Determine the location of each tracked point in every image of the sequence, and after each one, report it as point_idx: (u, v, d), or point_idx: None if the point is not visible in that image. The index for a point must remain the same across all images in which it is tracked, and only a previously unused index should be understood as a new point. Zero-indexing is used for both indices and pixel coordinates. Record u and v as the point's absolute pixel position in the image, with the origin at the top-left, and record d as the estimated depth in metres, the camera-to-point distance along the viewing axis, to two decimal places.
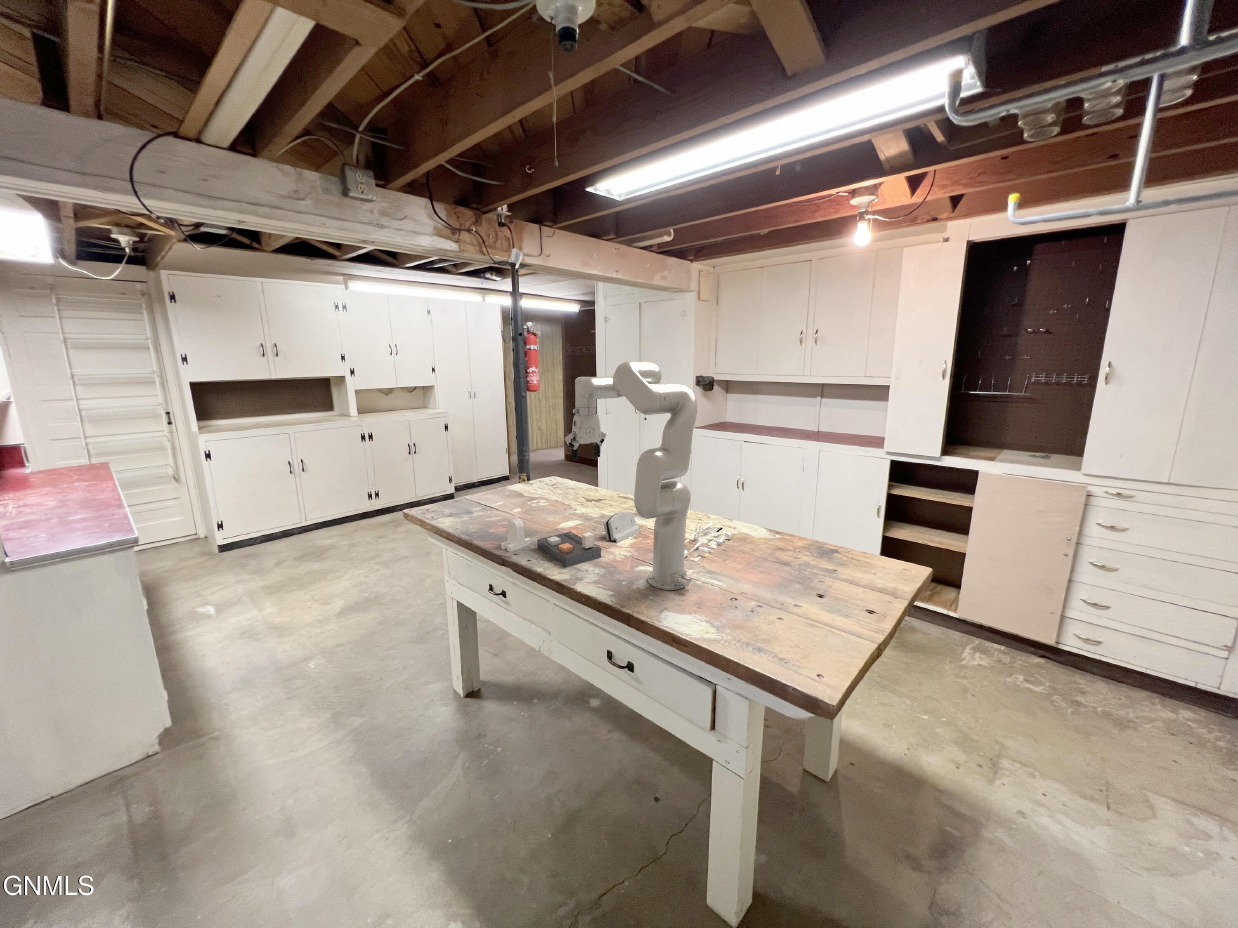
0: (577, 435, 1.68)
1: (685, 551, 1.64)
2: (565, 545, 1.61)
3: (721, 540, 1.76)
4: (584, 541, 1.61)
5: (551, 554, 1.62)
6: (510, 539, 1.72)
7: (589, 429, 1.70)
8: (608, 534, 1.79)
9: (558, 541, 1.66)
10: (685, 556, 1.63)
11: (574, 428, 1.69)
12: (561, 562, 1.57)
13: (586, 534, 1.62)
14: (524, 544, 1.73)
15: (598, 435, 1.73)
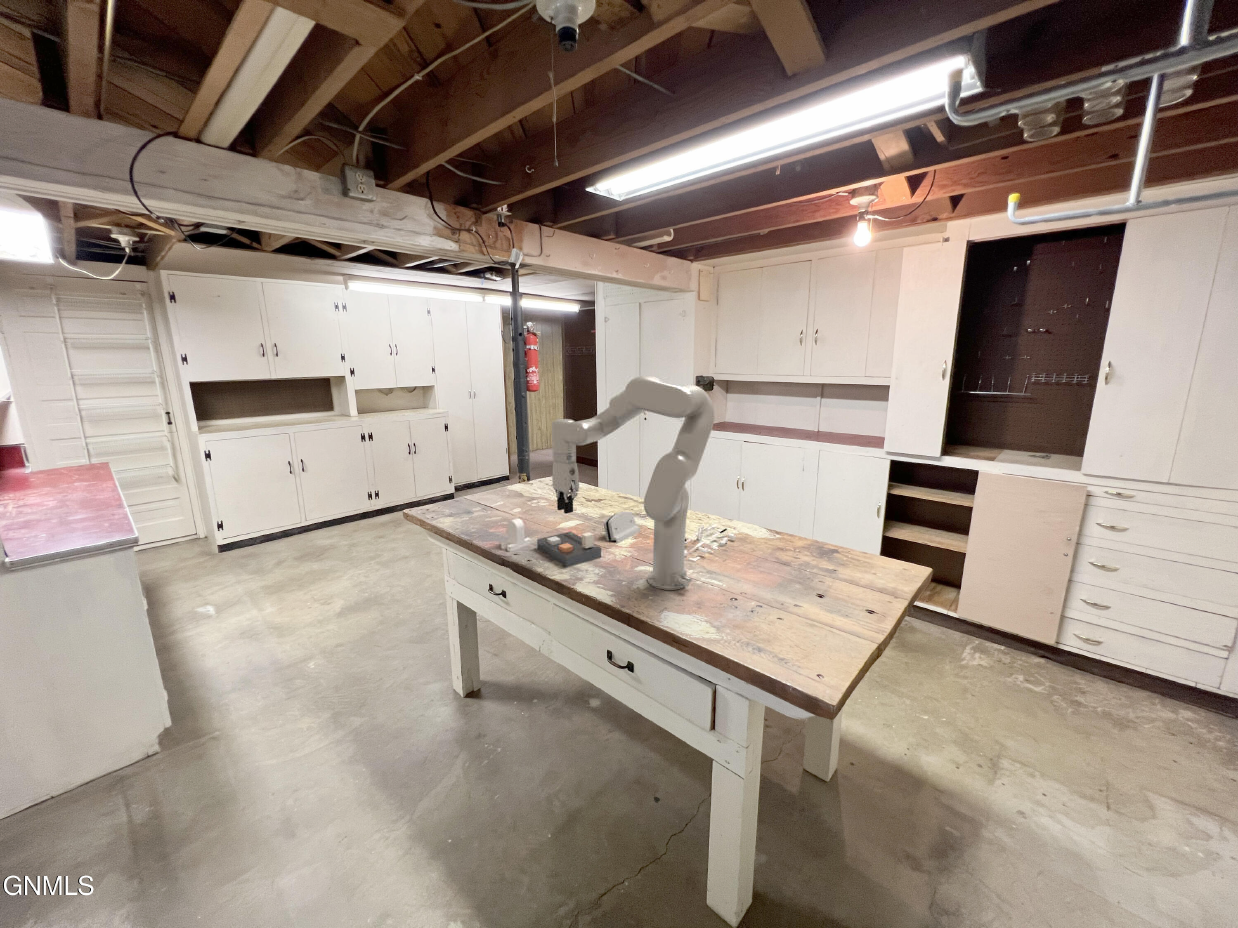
0: (578, 483, 1.53)
1: None
2: (565, 545, 1.61)
3: (723, 541, 1.75)
4: (584, 541, 1.61)
5: (551, 554, 1.62)
6: (510, 539, 1.72)
7: None
8: (608, 534, 1.78)
9: (558, 541, 1.66)
10: (684, 556, 1.64)
11: (572, 477, 1.52)
12: (561, 562, 1.57)
13: (586, 534, 1.62)
14: (524, 544, 1.73)
15: None
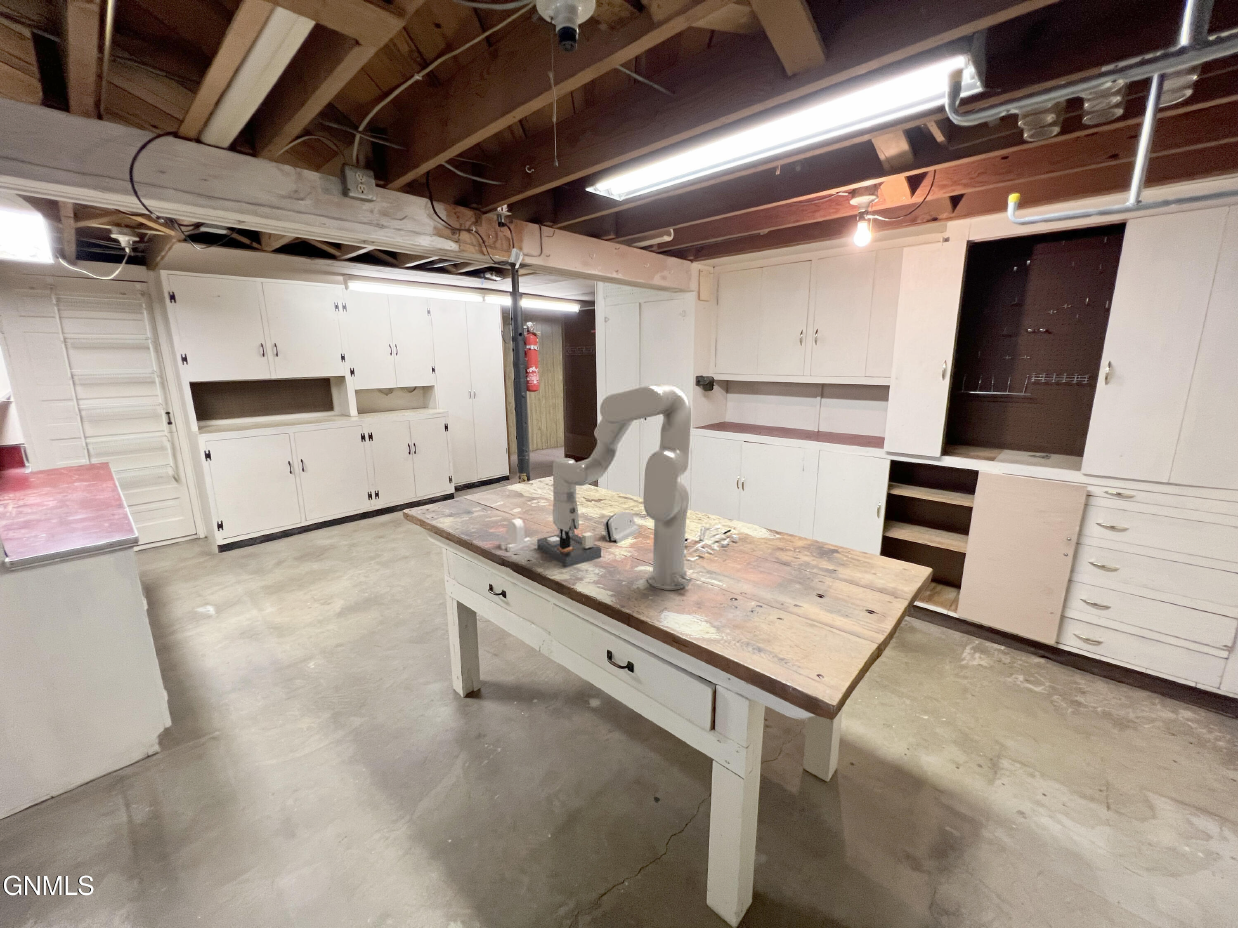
0: (577, 521, 1.56)
1: None
2: None
3: (725, 542, 1.74)
4: (584, 541, 1.61)
5: (551, 554, 1.62)
6: (510, 539, 1.72)
7: None
8: (608, 534, 1.78)
9: (558, 541, 1.66)
10: None
11: (572, 515, 1.55)
12: (561, 562, 1.57)
13: (586, 534, 1.62)
14: (524, 544, 1.73)
15: None
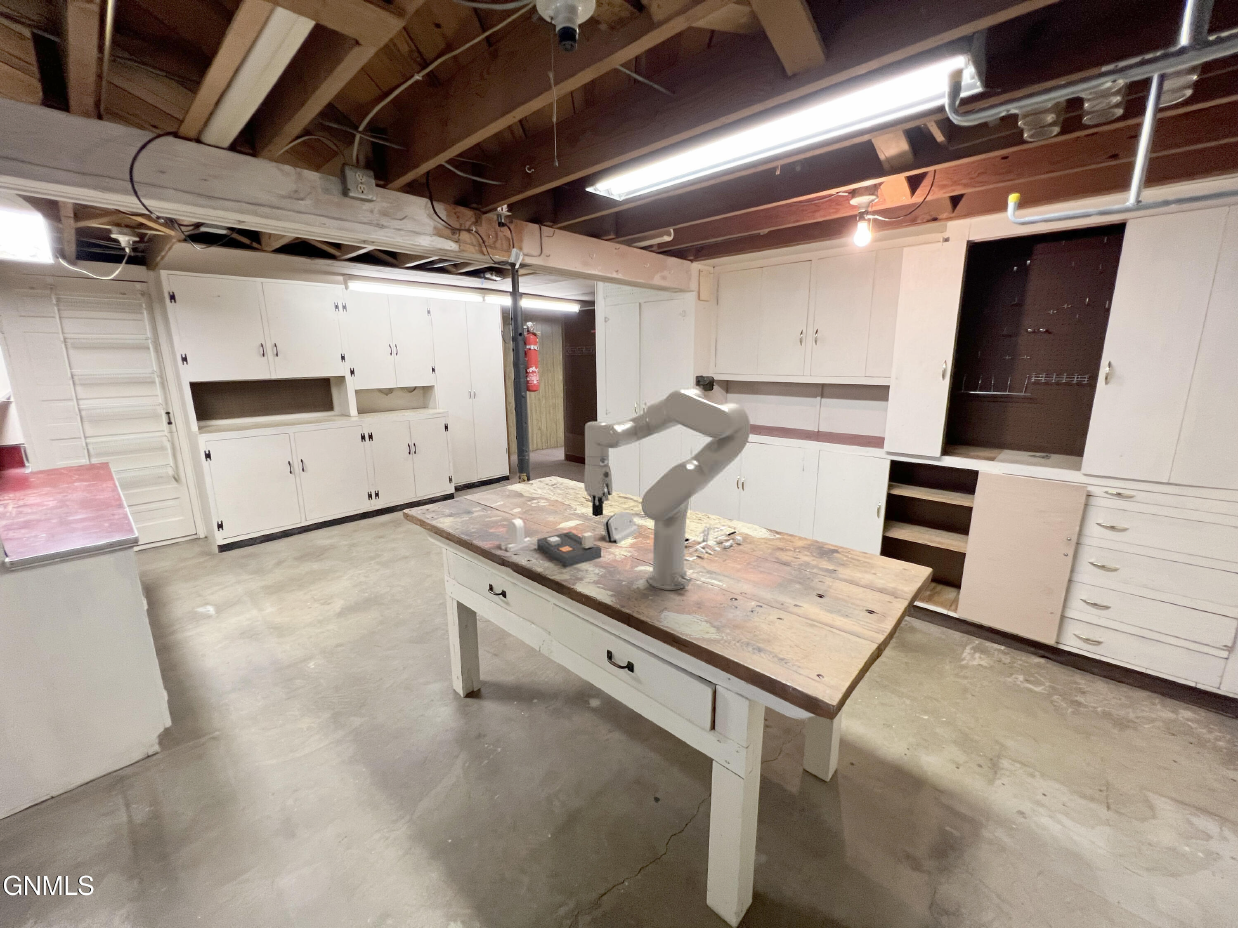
0: (611, 486, 1.51)
1: None
2: (565, 548, 1.61)
3: (728, 543, 1.73)
4: (584, 541, 1.61)
5: (551, 554, 1.62)
6: (510, 539, 1.72)
7: None
8: (608, 535, 1.78)
9: (558, 541, 1.66)
10: None
11: (606, 480, 1.49)
12: (561, 562, 1.57)
13: (586, 534, 1.62)
14: (524, 544, 1.73)
15: None
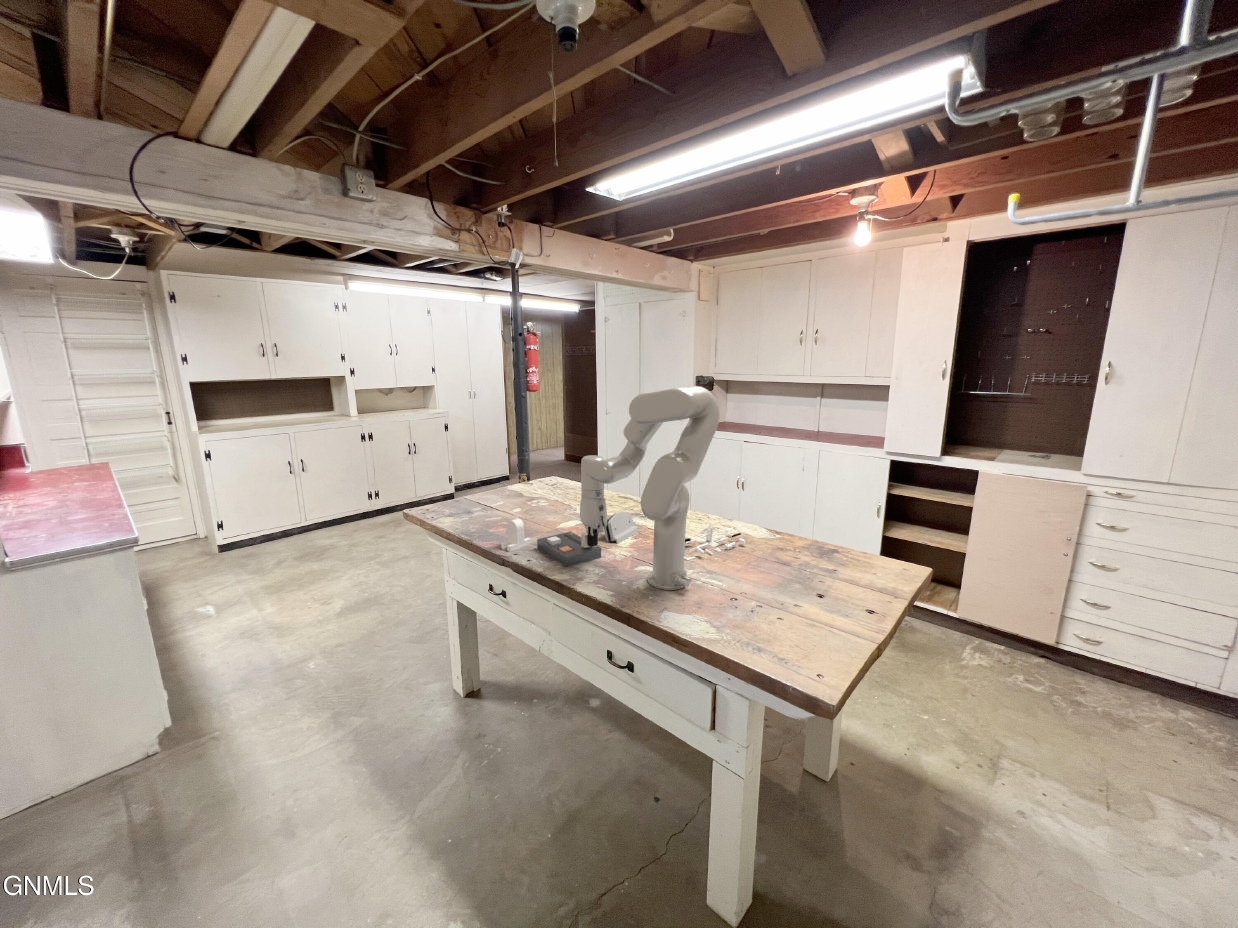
0: (606, 518, 1.55)
1: None
2: (565, 548, 1.61)
3: (730, 545, 1.72)
4: (583, 541, 1.62)
5: (551, 554, 1.62)
6: (510, 539, 1.72)
7: None
8: (608, 535, 1.78)
9: (558, 541, 1.66)
10: None
11: (601, 513, 1.54)
12: (561, 562, 1.57)
13: (585, 534, 1.62)
14: (524, 544, 1.73)
15: None
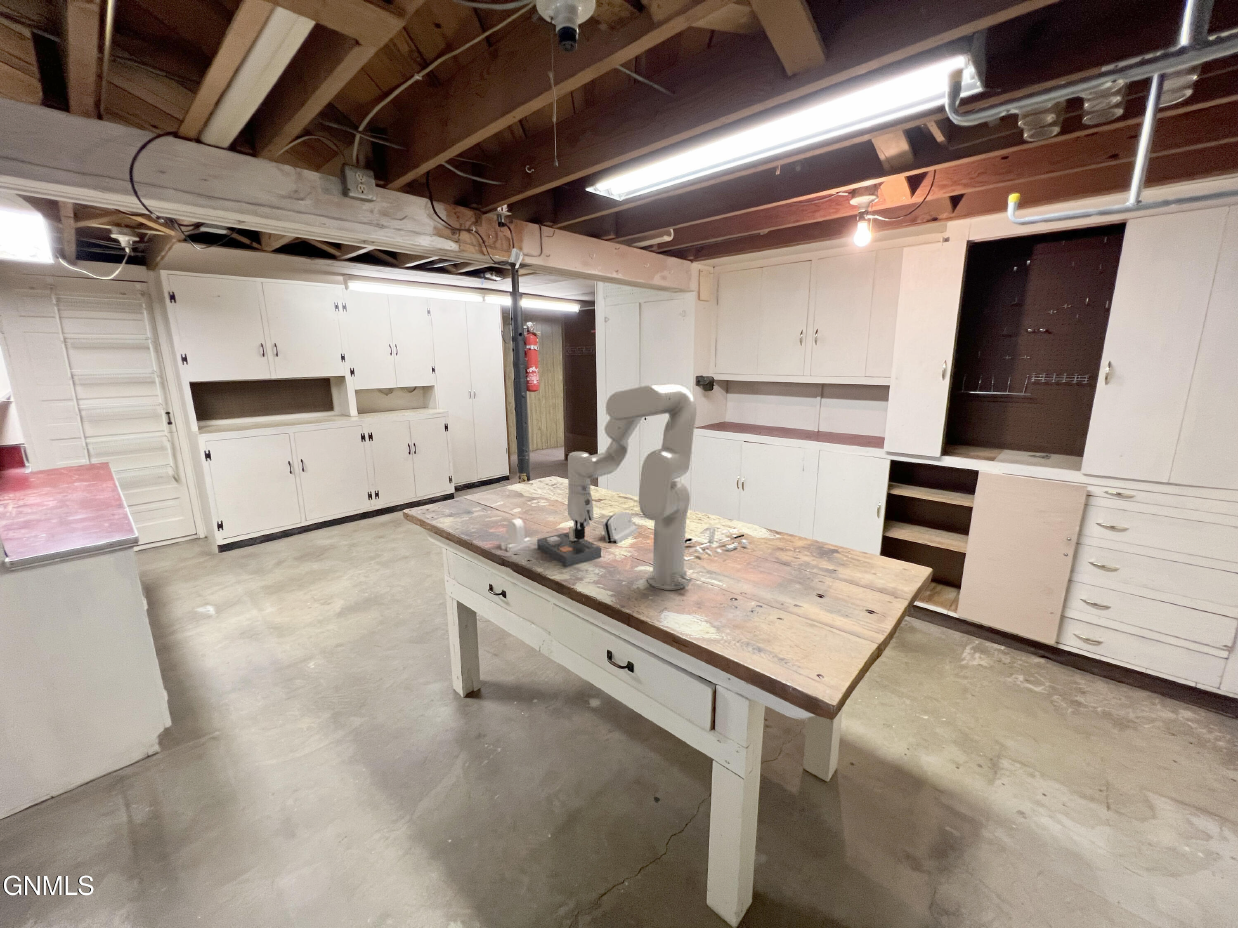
0: (592, 512, 1.62)
1: None
2: (565, 548, 1.61)
3: (731, 546, 1.71)
4: (571, 534, 1.68)
5: (551, 554, 1.62)
6: (510, 539, 1.72)
7: None
8: (608, 535, 1.77)
9: (558, 541, 1.66)
10: None
11: (587, 507, 1.60)
12: (561, 562, 1.57)
13: (573, 527, 1.68)
14: (524, 544, 1.73)
15: None
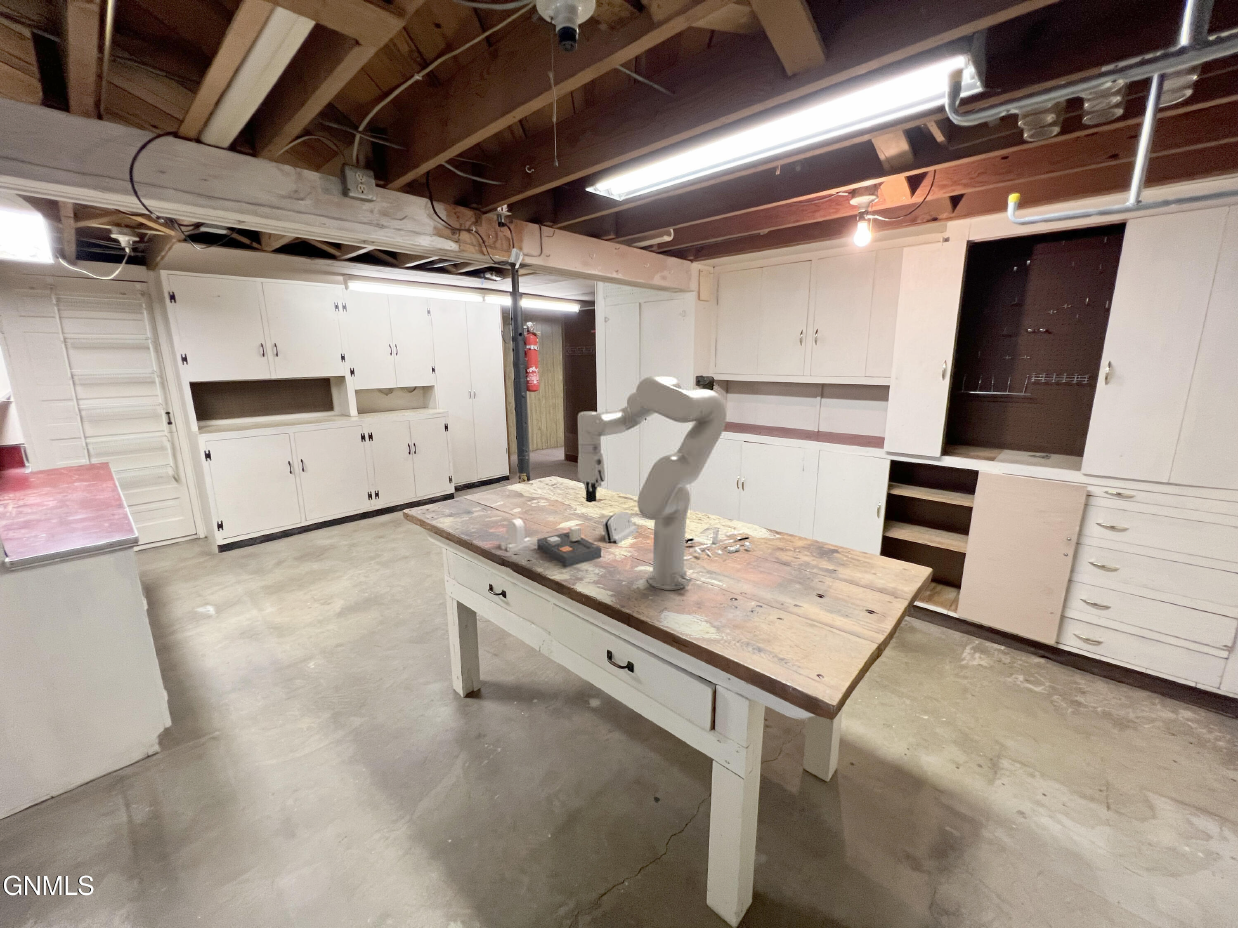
0: (603, 473, 1.58)
1: None
2: (565, 548, 1.61)
3: (733, 548, 1.69)
4: (571, 534, 1.68)
5: (551, 554, 1.62)
6: (510, 539, 1.72)
7: None
8: (607, 535, 1.77)
9: (558, 541, 1.66)
10: None
11: (599, 467, 1.57)
12: (561, 562, 1.57)
13: (573, 527, 1.68)
14: (524, 544, 1.73)
15: None
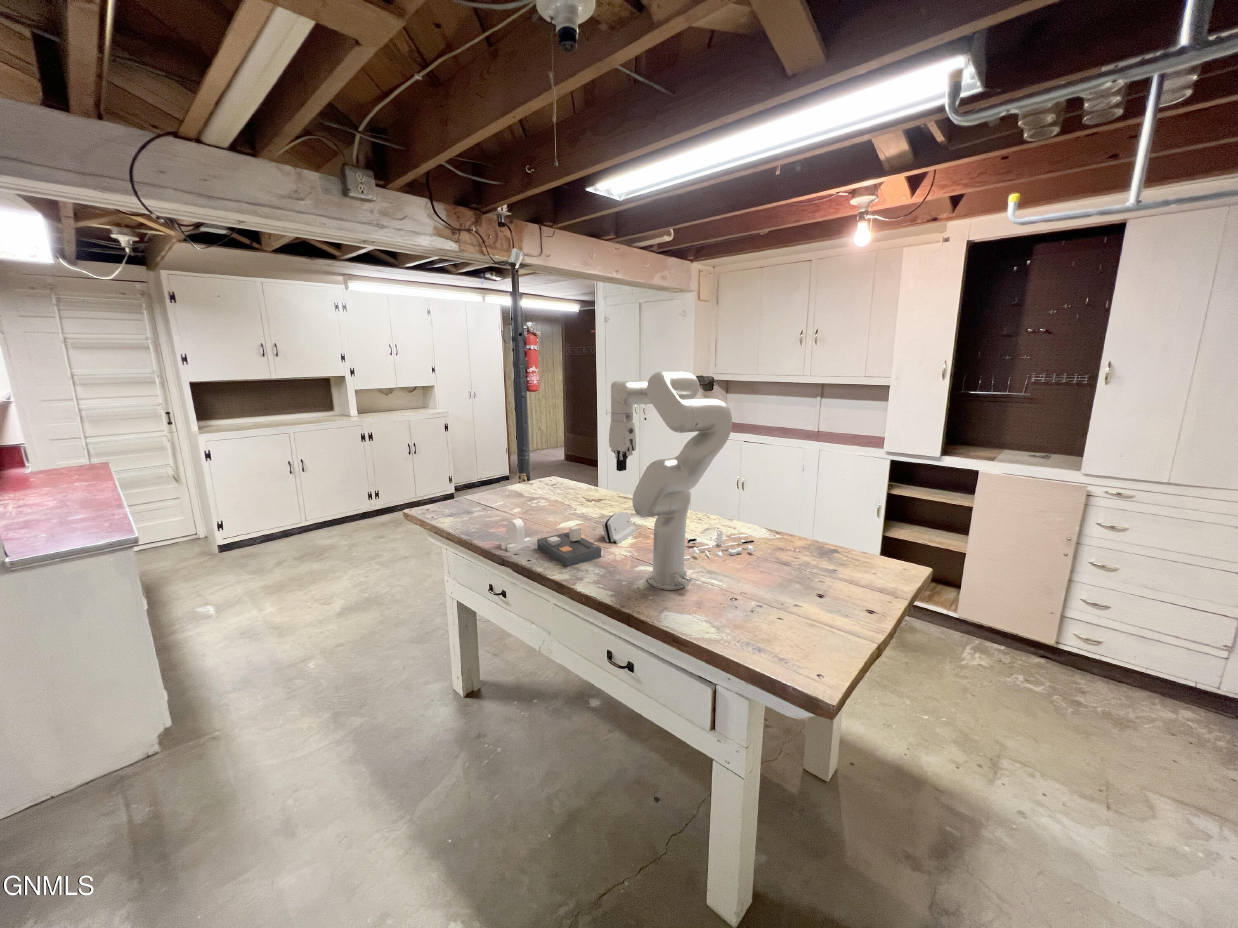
0: (635, 442, 1.60)
1: None
2: (565, 548, 1.61)
3: (734, 550, 1.67)
4: (571, 534, 1.68)
5: (551, 554, 1.62)
6: (510, 539, 1.72)
7: None
8: (607, 536, 1.77)
9: (558, 541, 1.66)
10: None
11: (630, 436, 1.58)
12: (561, 562, 1.57)
13: (573, 527, 1.68)
14: (524, 544, 1.73)
15: None
